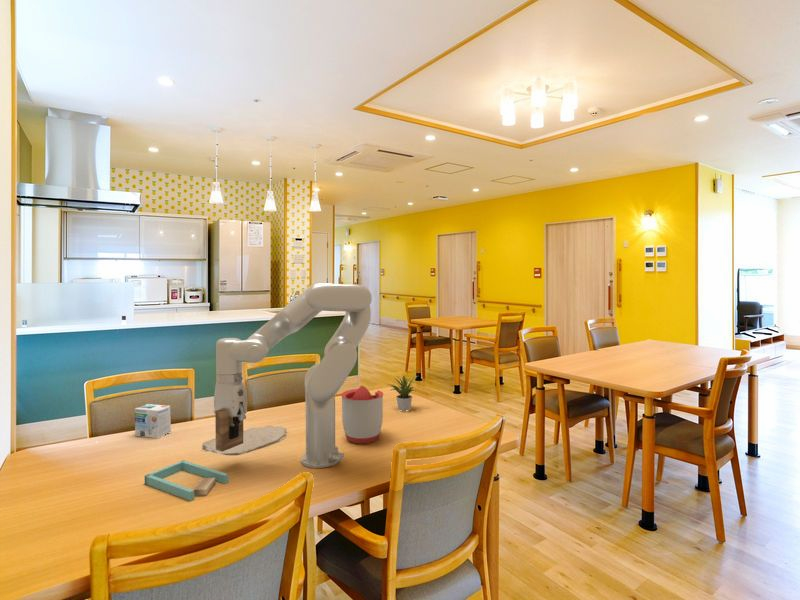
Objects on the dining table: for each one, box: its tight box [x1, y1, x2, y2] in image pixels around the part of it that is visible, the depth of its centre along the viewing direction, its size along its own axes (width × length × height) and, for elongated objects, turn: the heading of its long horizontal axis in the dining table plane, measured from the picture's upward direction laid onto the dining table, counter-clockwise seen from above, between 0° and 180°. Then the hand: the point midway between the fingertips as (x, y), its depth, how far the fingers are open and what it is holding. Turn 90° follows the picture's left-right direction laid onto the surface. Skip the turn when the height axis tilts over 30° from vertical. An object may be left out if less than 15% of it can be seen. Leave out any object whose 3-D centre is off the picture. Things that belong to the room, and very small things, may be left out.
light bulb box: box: [134, 403, 172, 439], centre depth 168 cm, size 11×7×11 cm, turn 76°
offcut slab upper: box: [192, 477, 217, 497], centre depth 123 cm, size 4×7×2 cm, turn 3°
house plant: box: [387, 374, 419, 411], centre depth 201 cm, size 14×14×16 cm
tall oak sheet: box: [214, 409, 244, 452], centre depth 137 cm, size 3×8×12 cm, turn 151°
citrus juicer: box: [340, 385, 384, 445], centre depth 165 cm, size 16×17×20 cm
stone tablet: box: [201, 425, 287, 456], centre depth 161 cm, size 16×30×2 cm, turn 136°
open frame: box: [144, 459, 229, 502], centre depth 127 cm, size 20×12×4 cm, turn 61°
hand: (229, 436), depth 137 cm, fingers closed on tall oak sheet, 3 cm apart
